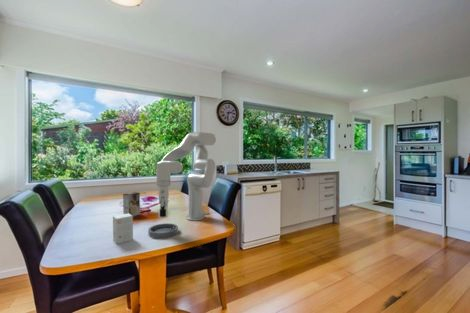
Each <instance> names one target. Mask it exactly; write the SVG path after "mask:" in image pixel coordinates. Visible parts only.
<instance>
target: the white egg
mask: <svg viewBox="0 0 470 313" xmlns="http://www.w3.org/2000/svg"><path fill="white" fill-rule="evenodd" d="M164 204H165V203H164ZM157 206H158V207H157V208H158V211H157V212H158V216H157V217H158V218H161V219H163V218H168V215H169V214H168V213H169V210H168V209H169V207H168V206H169V203H168V204H167V203H166V208H165V209H166V216H165V217H160V204H159V203H158V205H157ZM164 206H165V205H164Z"/></svg>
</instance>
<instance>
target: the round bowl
mask: <svg viewBox="0 0 470 313" xmlns="http://www.w3.org/2000/svg"><path fill="white" fill-rule="evenodd" d="M147 231H148V232H147V233H148V237H150V238H152V239H161V240H162V239H168V238H172V237H174V236H176V235H178V233H179V226H178V225H177V224H175V223H169V222H168V223H159V224H155V225H151V227H148V230H147Z"/></svg>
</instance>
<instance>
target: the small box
mask: <svg viewBox="0 0 470 313" xmlns="http://www.w3.org/2000/svg"><path fill="white" fill-rule="evenodd" d="M133 218H134V216H132V215H131V214H129V213H128V214H123V213H122V214H117V215H112V235H113V236H112V240H113V242H114V243H115V244H116V245H117V244H121V243H126V242H130V241H133V240H134V225H133V224H134V223H133V221H134V219H133Z"/></svg>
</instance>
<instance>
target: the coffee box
mask: <svg viewBox="0 0 470 313" xmlns="http://www.w3.org/2000/svg"><path fill="white" fill-rule="evenodd" d="M140 194H141V193H140V192H136V191H132V192H128V193H122V202H123V207H122V210H123V213H122V214H128V213H129V214H131V215H132V216H133V217H135V216H140V214H141V200H140V199H141V198H140V196H141V195H140Z"/></svg>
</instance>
